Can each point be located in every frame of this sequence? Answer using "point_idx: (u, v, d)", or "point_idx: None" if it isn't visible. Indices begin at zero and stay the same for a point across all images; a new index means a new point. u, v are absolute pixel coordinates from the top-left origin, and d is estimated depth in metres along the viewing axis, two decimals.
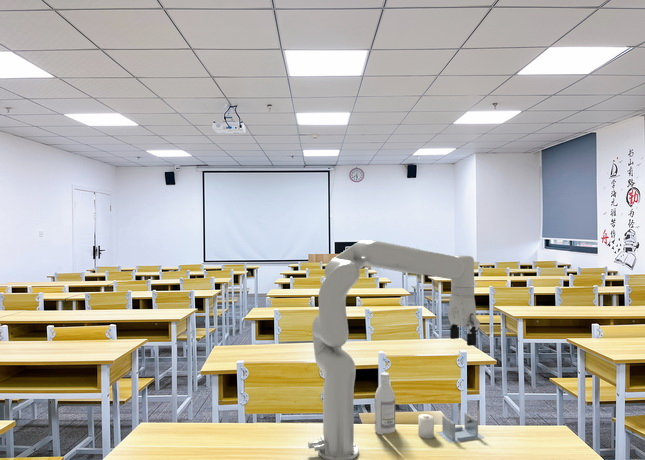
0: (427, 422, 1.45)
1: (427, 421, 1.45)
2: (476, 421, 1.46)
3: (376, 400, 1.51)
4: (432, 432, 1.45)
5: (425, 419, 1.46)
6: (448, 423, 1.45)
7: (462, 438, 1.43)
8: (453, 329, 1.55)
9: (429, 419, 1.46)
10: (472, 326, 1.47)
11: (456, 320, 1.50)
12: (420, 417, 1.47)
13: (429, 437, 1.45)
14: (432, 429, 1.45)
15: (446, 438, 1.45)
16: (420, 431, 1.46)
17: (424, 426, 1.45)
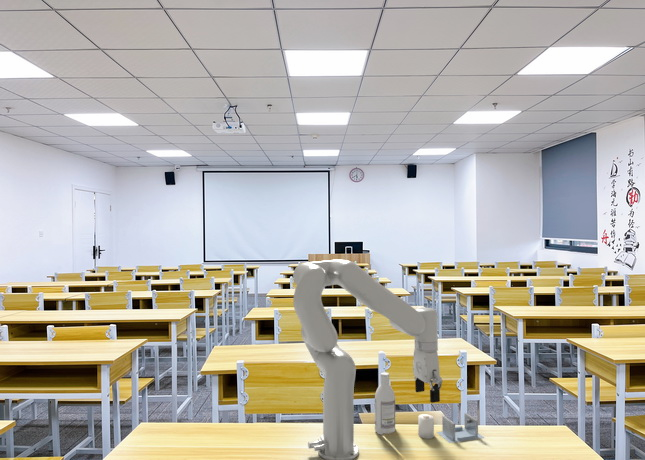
0: (427, 422, 1.45)
1: (427, 421, 1.45)
2: (476, 421, 1.46)
3: (376, 400, 1.51)
4: (432, 432, 1.45)
5: (425, 419, 1.46)
6: (448, 423, 1.45)
7: (462, 438, 1.43)
8: (418, 382, 1.51)
9: (429, 419, 1.46)
10: (435, 382, 1.44)
11: (420, 375, 1.46)
12: (420, 417, 1.47)
13: (429, 437, 1.45)
14: (432, 429, 1.45)
15: (446, 438, 1.45)
16: (420, 431, 1.46)
17: (424, 426, 1.45)
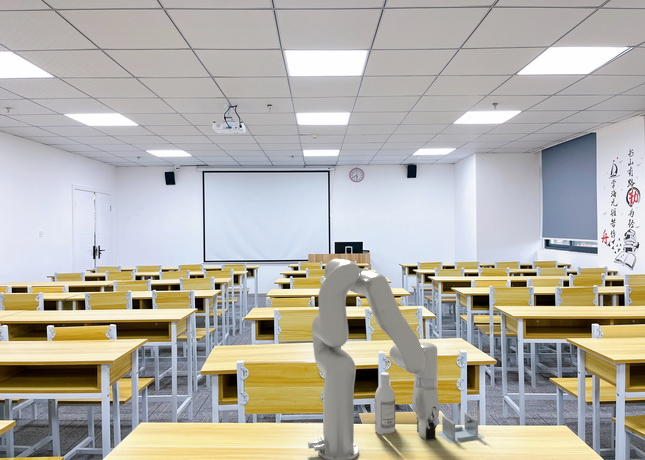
0: None
1: None
2: (476, 421, 1.46)
3: (376, 400, 1.51)
4: None
5: None
6: (448, 423, 1.45)
7: (462, 438, 1.43)
8: None
9: None
10: (432, 419, 1.45)
11: (419, 411, 1.46)
12: (420, 417, 1.47)
13: None
14: None
15: (446, 438, 1.45)
16: (420, 431, 1.46)
17: (424, 426, 1.45)
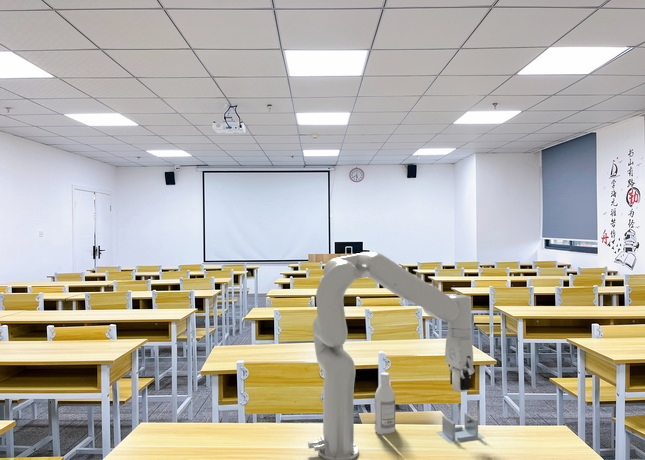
0: None
1: None
2: (476, 421, 1.46)
3: (376, 400, 1.51)
4: None
5: None
6: (448, 423, 1.45)
7: (462, 438, 1.43)
8: None
9: None
10: (467, 369, 1.45)
11: (453, 362, 1.46)
12: (454, 368, 1.47)
13: None
14: None
15: (446, 438, 1.45)
16: (454, 381, 1.46)
17: (458, 376, 1.45)
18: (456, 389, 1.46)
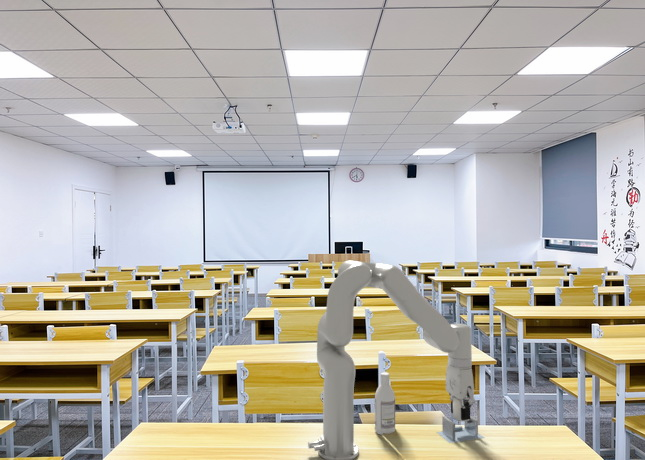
0: None
1: None
2: (476, 421, 1.46)
3: (376, 400, 1.51)
4: None
5: None
6: (448, 423, 1.45)
7: (462, 438, 1.43)
8: None
9: None
10: None
11: (453, 391, 1.46)
12: (454, 397, 1.47)
13: None
14: None
15: (446, 438, 1.45)
16: (455, 411, 1.46)
17: (459, 406, 1.45)
18: (457, 419, 1.46)
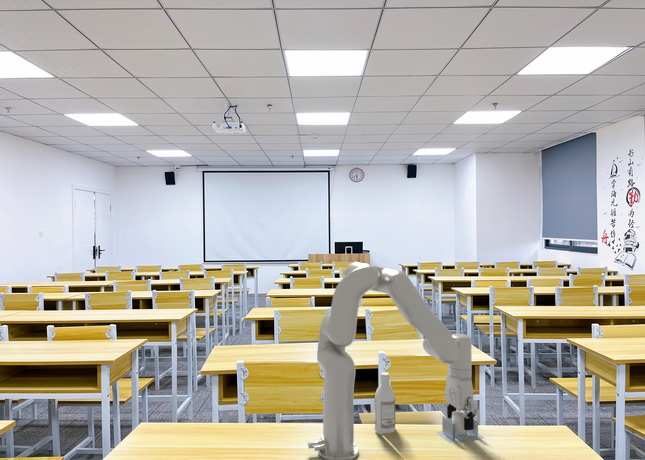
0: (461, 418, 1.45)
1: (461, 417, 1.45)
2: (476, 421, 1.46)
3: (376, 400, 1.51)
4: None
5: (459, 415, 1.46)
6: (448, 423, 1.45)
7: (462, 438, 1.43)
8: (450, 408, 1.51)
9: (463, 415, 1.46)
10: (469, 409, 1.44)
11: (453, 402, 1.46)
12: (454, 413, 1.47)
13: (463, 433, 1.45)
14: None
15: (446, 438, 1.45)
16: None
17: (458, 422, 1.45)
18: (456, 435, 1.46)
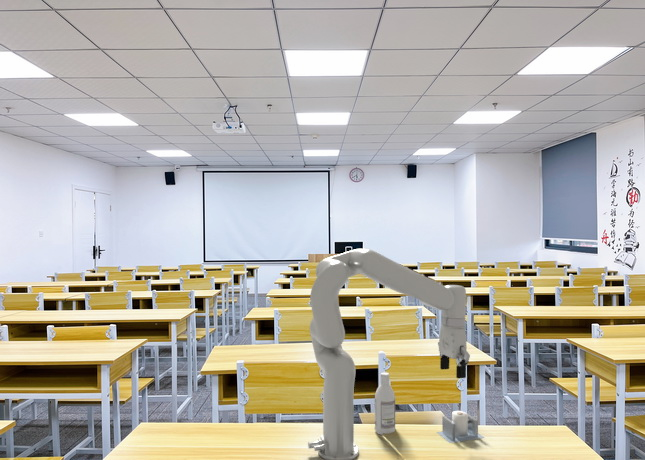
0: (461, 418, 1.45)
1: (461, 417, 1.45)
2: (476, 421, 1.46)
3: (376, 400, 1.51)
4: (466, 428, 1.46)
5: (459, 415, 1.46)
6: (448, 423, 1.45)
7: (462, 438, 1.43)
8: (443, 359, 1.52)
9: (463, 415, 1.46)
10: (462, 358, 1.44)
11: (446, 351, 1.47)
12: (454, 413, 1.47)
13: (463, 433, 1.45)
14: (466, 425, 1.46)
15: (446, 438, 1.45)
16: None
17: (458, 422, 1.45)
18: (456, 435, 1.46)
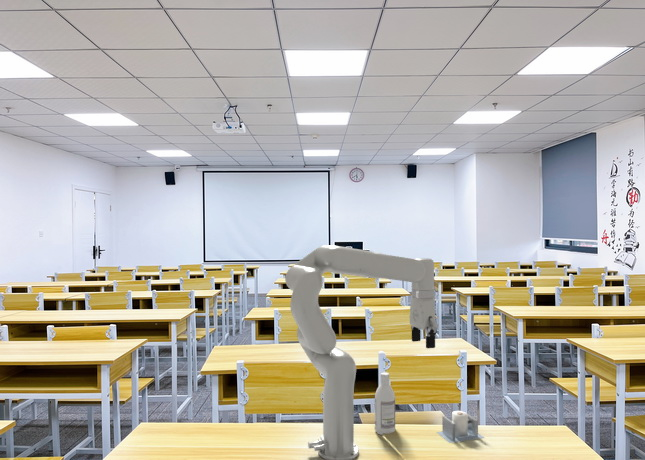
0: (461, 418, 1.45)
1: (461, 417, 1.45)
2: (476, 421, 1.46)
3: (376, 400, 1.51)
4: (466, 428, 1.46)
5: (459, 415, 1.46)
6: (448, 423, 1.45)
7: (462, 438, 1.43)
8: (414, 332, 1.55)
9: (463, 415, 1.46)
10: (431, 329, 1.47)
11: (416, 323, 1.50)
12: (454, 413, 1.47)
13: (463, 433, 1.45)
14: (466, 425, 1.46)
15: (446, 438, 1.45)
16: None
17: (458, 422, 1.45)
18: (456, 435, 1.46)
